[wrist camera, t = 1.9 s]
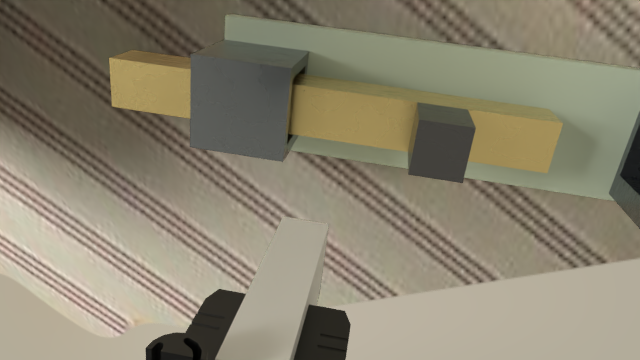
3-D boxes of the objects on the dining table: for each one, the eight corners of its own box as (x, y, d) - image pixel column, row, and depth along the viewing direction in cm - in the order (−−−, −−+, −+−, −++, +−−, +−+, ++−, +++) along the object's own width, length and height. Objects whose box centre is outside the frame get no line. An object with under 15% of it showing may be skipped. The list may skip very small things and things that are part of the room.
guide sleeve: (221, 119, 38) (190, 146, 32) (224, 39, 36) (190, 54, 30) (301, 131, 37) (283, 161, 32) (309, 51, 35) (291, 68, 29)
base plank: (226, 134, 40) (221, 139, 39) (230, 13, 36) (224, 15, 35) (672, 204, 37) (680, 211, 36) (726, 79, 33) (737, 83, 32)
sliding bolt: (134, 95, 37) (79, 122, 30) (133, 49, 35) (74, 68, 29) (535, 155, 34) (564, 198, 28) (548, 108, 33) (583, 143, 27)
